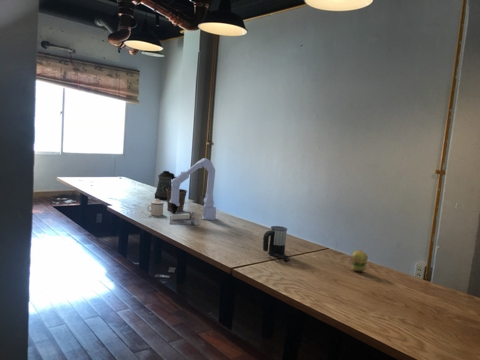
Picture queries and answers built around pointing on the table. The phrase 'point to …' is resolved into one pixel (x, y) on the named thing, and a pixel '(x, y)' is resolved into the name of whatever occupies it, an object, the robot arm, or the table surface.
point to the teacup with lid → (156, 208)
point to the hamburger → (359, 260)
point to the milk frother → (276, 242)
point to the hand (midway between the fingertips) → (173, 214)
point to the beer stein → (164, 185)
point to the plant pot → (181, 199)
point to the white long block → (180, 216)
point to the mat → (184, 221)
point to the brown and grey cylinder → (192, 220)
